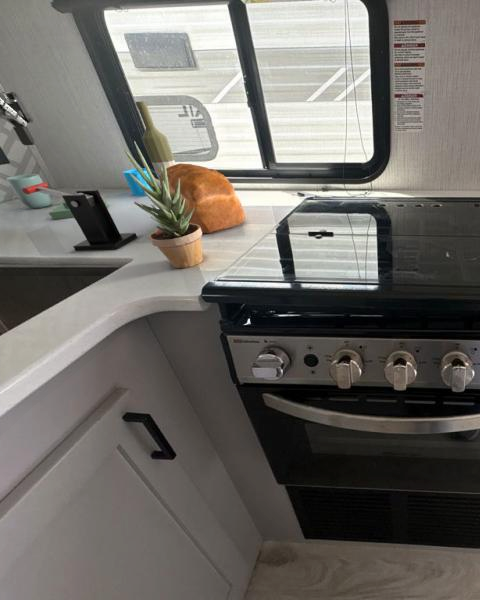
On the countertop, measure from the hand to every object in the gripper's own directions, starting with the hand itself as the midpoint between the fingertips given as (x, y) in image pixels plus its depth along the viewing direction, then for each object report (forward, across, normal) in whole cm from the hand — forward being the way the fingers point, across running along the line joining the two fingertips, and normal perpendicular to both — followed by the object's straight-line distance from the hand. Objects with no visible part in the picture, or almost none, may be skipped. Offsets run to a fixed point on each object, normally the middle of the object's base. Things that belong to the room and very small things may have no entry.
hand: (11, 147), depth 73 cm
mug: (+23, -48, -11) cm, 54 cm away
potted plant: (+22, +14, +38) cm, 46 cm away
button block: (+23, -27, -18) cm, 40 cm away
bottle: (+22, -42, +5) cm, 48 cm away
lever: (+11, +1, +6) cm, 13 cm away
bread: (+22, -15, +29) cm, 40 cm away
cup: (+23, -35, -38) cm, 57 cm away
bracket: (+22, +1, +11) cm, 25 cm away
